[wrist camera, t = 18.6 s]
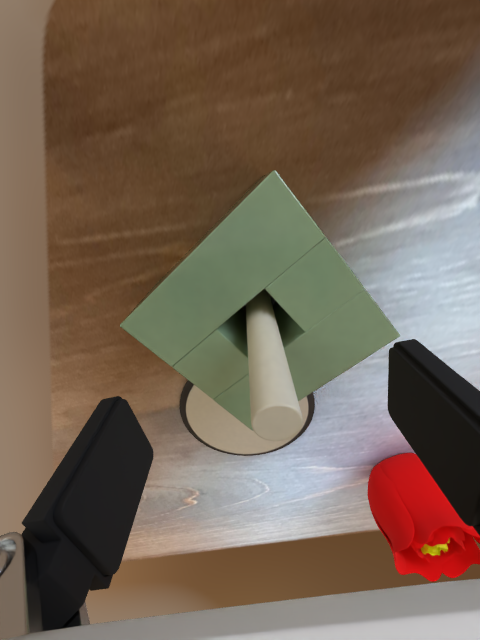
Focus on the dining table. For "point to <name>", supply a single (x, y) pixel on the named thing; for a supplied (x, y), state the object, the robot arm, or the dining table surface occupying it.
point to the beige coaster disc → (230, 424)
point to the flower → (419, 520)
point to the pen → (269, 374)
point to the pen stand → (243, 285)
